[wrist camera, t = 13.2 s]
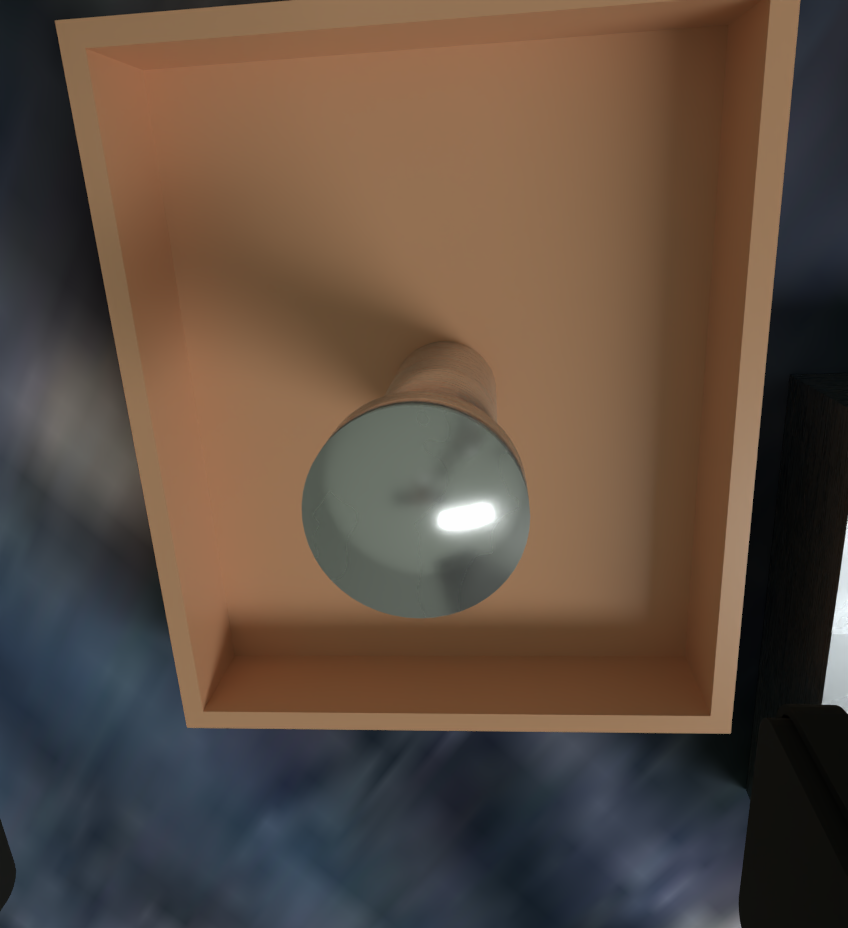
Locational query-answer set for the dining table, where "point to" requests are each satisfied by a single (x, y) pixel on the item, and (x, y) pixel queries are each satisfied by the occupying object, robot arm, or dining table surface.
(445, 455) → the lock pin
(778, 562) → the pulley bracket
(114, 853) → the dining table surface
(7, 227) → the dining table surface
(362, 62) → the tray
